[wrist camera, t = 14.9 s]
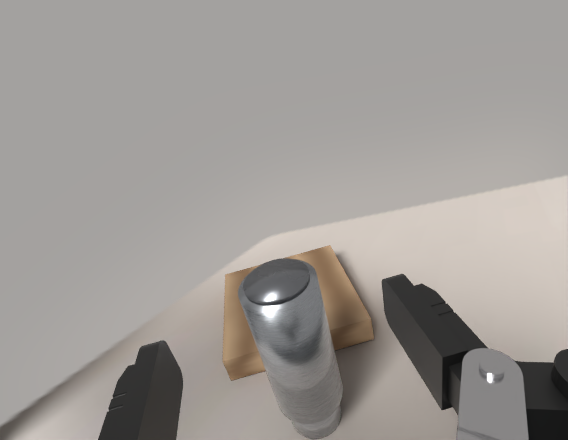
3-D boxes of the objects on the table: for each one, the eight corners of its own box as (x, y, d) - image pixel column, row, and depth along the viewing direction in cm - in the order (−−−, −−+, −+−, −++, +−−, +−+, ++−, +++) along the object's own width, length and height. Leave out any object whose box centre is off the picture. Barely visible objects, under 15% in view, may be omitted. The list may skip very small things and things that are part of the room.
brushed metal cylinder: (290, 455, 27) (236, 316, 21) (281, 393, 33) (235, 267, 26) (357, 435, 28) (325, 291, 21) (337, 377, 33) (306, 247, 26)
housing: (231, 380, 35) (222, 361, 34) (231, 290, 50) (225, 274, 48) (374, 339, 36) (370, 318, 35) (333, 261, 50) (330, 245, 49)
